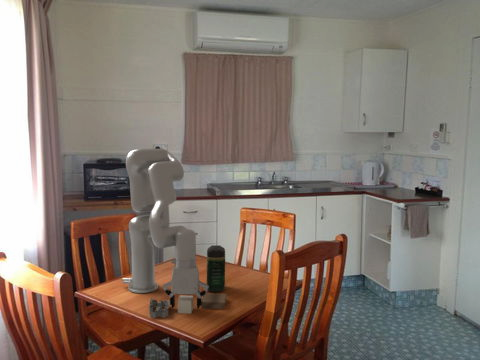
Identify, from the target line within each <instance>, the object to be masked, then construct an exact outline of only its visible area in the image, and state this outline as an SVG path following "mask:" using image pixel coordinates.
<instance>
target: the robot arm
mask: <svg viewBox="0 0 480 360" xmlns="http://www.w3.org/2000/svg"><path fill="white" fill-rule="evenodd" d="M125 168H126V171H127V174H128V175H127V176H128V177H129V178H128V179H129V192H130V205H131V208H132V211H134V212H135V213H147V212H150V214H144V215H142V214H141V215H138V216H135V217H133V218H131V219H130V220H129V223H128V234H129V238H130V245H131V247H130V249H131V277H129V278H127V277H123V278H122V280H121V281H122V283H123V285H128V288H127V289H128V291H129V292H131V293H134V294H147V293H152V292H155V291H157V290H158V289H159V283H157V282H156V280H155V278H156V277H155V274H156V273H155V272H156V271H155V266H156V265H155V263H156V262H155V247H156V248H158V249H166V248H172V247H175V254H174V255H175V256H174V257H175V258H174V259H171V264H174V266H173V267H172V273H171V280H170V281H168V282H165V283H164V284H163V285H162V288H163V290H164V292H165V294H166V295H167V296H168V297H169V300H170V304H169V306H171V307H170V308H171V309H173V308H174V307H175V305H176V303H175V302H176V296H175V295H196V309H198V310H199V309H200V308H201V303H202V298H203V296H204V295H205V294H206V293H207V292H208V288H209V286H208V285H207V283H205V282H202V281H201V280H200V273H199V268H198V265H197V263H196V261H197V258H196V257H197V256H196V255H197V254H196V253H197V250H196V249H197V248H196V247H197V243H196V242H197V237H196V236H197V235H196V232H195V230H194V229H193V230H192V229H189V228H187V227H185V226H184V225H173V226H170V208H169V207H170V205H172V204H173V203H175V202H176V201H177V194H176V191H175V186H174V182H175V183H177V182H181V181H182V180H183V178H184V173H185V172H184V168H183V165H182V164H181V161H179V160H178V158H177V157H175V156H174V155H173V154H172V153H171V152H170V151H168V150H167V149H166V148H137V149H133V150H130V152H128V153H127V155H126V157H125ZM146 170H147V171H146ZM147 172H148V173H147ZM150 238H151V240H152V241H151V240H150ZM154 246H155V247H154ZM169 287H171V288H170V289H169ZM200 287H201V288H203V290H202V291H201V290H200Z"/></svg>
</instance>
